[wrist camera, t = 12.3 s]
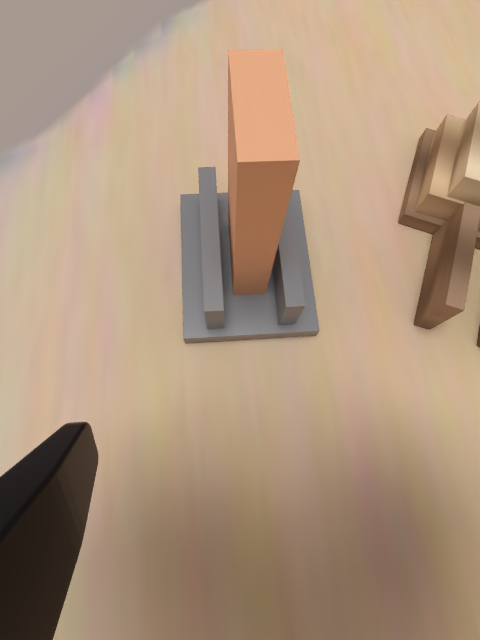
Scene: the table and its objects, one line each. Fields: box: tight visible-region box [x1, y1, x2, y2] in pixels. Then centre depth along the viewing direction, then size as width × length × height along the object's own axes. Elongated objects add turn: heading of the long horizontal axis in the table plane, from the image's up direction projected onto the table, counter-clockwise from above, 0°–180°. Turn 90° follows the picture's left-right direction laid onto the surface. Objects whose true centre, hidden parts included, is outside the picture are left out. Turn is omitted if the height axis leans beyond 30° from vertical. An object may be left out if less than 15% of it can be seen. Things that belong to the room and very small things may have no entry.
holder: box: [181, 167, 319, 343], centre depth 22 cm, size 10×8×4 cm
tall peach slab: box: [228, 50, 300, 295], centre depth 17 cm, size 5×2×11 cm, turn 4°
